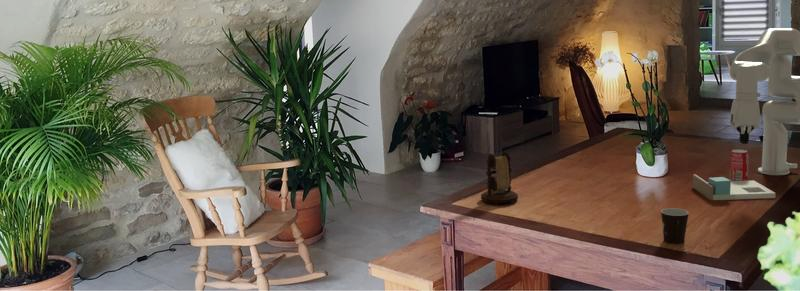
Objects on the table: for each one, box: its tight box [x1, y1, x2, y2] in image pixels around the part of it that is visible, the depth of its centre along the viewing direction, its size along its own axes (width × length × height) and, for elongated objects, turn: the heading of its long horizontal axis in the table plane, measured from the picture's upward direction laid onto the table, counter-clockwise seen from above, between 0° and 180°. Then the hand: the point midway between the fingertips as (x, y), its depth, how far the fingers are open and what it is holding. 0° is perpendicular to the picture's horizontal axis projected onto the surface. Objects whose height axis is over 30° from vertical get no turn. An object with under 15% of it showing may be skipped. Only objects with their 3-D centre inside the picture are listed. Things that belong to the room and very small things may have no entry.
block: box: [707, 176, 731, 195], centre depth 312 cm, size 6×6×6 cm
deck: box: [692, 173, 777, 201], centre depth 319 cm, size 25×20×6 cm
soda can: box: [729, 148, 750, 181], centre depth 335 cm, size 7×7×13 cm
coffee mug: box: [660, 207, 690, 245], centre depth 262 cm, size 12×9×10 cm
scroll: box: [480, 151, 519, 206], centre depth 318 cm, size 15×15×20 cm
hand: (744, 143), depth 310 cm, fingers closed
